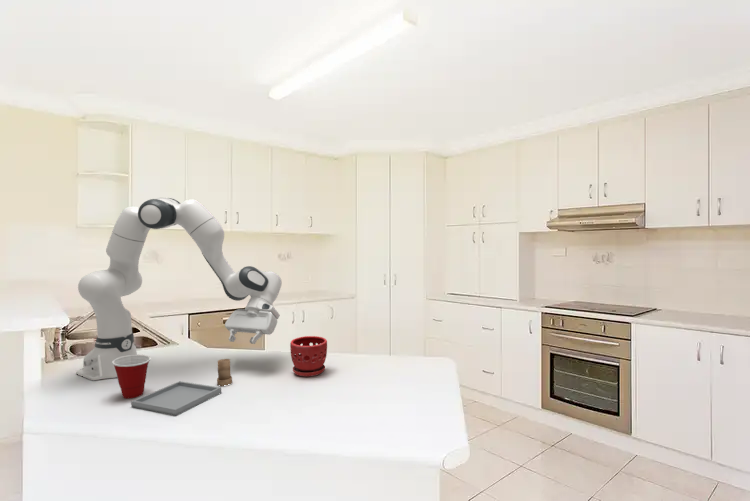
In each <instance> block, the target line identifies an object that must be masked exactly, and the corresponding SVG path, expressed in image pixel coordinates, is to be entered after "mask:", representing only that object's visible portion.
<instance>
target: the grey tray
mask: <svg viewBox="0 0 750 501" xmlns="http://www.w3.org/2000/svg"><path fill="white" fill-rule="evenodd" d="M219 393H220V394H222V386H214V385H207V384H200V383H194V382H188V381H183V380H182V381H181V380H180V381H176V382H174V383H172V384H169V385H167V386H164V387H162V388H160V389H157V390H155V391H152V392H150V393H148V394H145V395H142V396H139V397H137V398H135V399H134V400H131V402H130V403H131V407H130V408H133V409H134V408H135V409H137V410H144V411H147V412H154V413H159V414H164V415H168V416H173V417H177V416H179V415H181V414H183V413H185V412H186V411H189V410H190V409H193V408H195V407H196V406H199V405H201V404H202V403H205V402H206V400H207V401H208V399H209V400H210V398H211V399H212V397H213V398H215V397H216V396H218V395H220V394H219ZM204 401H205V402H204Z"/></svg>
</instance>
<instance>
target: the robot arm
mask: <svg viewBox="0 0 750 501" xmlns="http://www.w3.org/2000/svg"><path fill="white" fill-rule="evenodd" d="M176 225H178V226H181V227H182V228H183V229H184V230H185V231H186V233H187V234H188V235H189V236H190V238H192V240H193V241H194V242H195V244H196V246H197V247H198V249H199V250H200V252H201V254H202V255H203V257H204V260H205V261H206V262H207V263H208V265H209V267H210V268H211V269H212V271H213V272H214V274H215V275H216V276H217V278H218V279H219V281H220V283H221V285H222V288H223V290H224V293H225V295H226V297H228V298H229V299H230V300H233V301H236V302H237V301H239V302H240V301H243V300H245V299H246V298H247V297H249V296H250V298H249V300H248V302H247V304H246V306H245V308H237V309H236V310H234V311H233V312H232V313H230V316H229V317H228V318H227V319H226V321H225V323H224V328H225V329H226V330H228V331H229V334H230V335H229V336H228V341H229V342H233V343H234V342H235V341H236V339H237V338H236V336H235V335H236V334H237V333H246V334H255V335H254V336H251V337H250V339H249V343H250V344H253V345H255V344H256V343H257V341H259V339H260V338H261V337H263V335H268V336H271V334H273V333H274V332H275V329H276V327H277V324H278V320H279V319H280V313H279V311H277V309H276V308H275V307H274V306H273V304H274V302H275V301H276V300H277V298H278V295H279V293H280V291H281V288H282V279H281V277H280V275H279V274H277V273H276V272H274V271H272V270H267V271H263V270H260V269H258V268H257V267H254V266H252V265H251V266H249V265H248V266H244V267H243V268H241V269H240V270H238V271H237V272H235V270H234V269H233V268H232V266H231V265H230V264H229V262H228V261H227V259H226V257H225V256H224V254H223V243H224V239H225V230H224V229H223V227H222V225H221V223H220V222H219V221H218V219H217V218H216V217H215V216H214V215H213V214H212V213H211V212H210V210H209V209H207V207H205V205H203V204H202V203H201V202H200V201H198V200H196V199H195V198H194V199H193V198H189V199H186V200H183V201H182V202H180V201H178V200H176V199H175V198H173V197H171V198H170V197H157V198H152V199H151V198H150V199H147V200H146V201H144V202H143V203H141V204H140V206H135V205H134V206H133V205H132V206H127V207H125V208H124V209H122V211H121V213H120V214H119V216H118V218H117V220H116V221H115V224H114V226H113V229H112V232H111V234H110V237H109V241H108V243H107V246H106V249H105V252H106V255H107V256H108V257H109V267H108V268H107V269H103V270H95V271H93V272H90V273H87V274H85V275H84V276H82V277H81V278H80V280H79V281H78V285H77V286H78V287H77V288H78V290H77V291H78V293H79V295H80V296H81V298H82V299H84V301H87V302H88V303H89V305H90V307H91V308H92V310H93V313H94V316H95V321H96V331H97V337H94V338H93V342H95V344H94V347H93V349H91V351H89V352H88V353H87V354H86V355H85V356H84V358H83V361H82V365H83V367H82V368H79V369H78V370H75V371H76V372H75V375H77V374H78V376H81V377H82V376H83V378H85V379H88V380H90V381H99V380H104V379H112V378H113V379H114V378H118V377H117V373H116V370H115V367H114V365H113V363H112V362H113V360H115V359H116V358H119V357H123V356H128V355H138V352H137V347H136V345H135V344H134V342H135V335H134V332H133V328H132V327H133V325H132V315H131V312H130V310H128V309H127V308H125V306H124V304H123V301H122V298H123V297H126V296H129V295H131V294H133V293H135V292H136V291H138V290H139V289H140V288H141V287H142V284H143V277H142V275H141V273H140V271H139V261H140V257H141V254H142V251H143V248H144V245H145V242H146V239H147V237H148V233H149V231H150V230H151V229H153V230H159V229H166V228H170V227H172V226H176Z"/></svg>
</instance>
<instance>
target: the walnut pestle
mask: <svg viewBox="0 0 750 501" xmlns="http://www.w3.org/2000/svg"><path fill="white" fill-rule="evenodd" d="M231 374H232V373H231V359H229V358H222V359H218V360H217V376H218V377H217V379H216V384H217V386H218V385H220V386H219V387H225V386H224V385H228V384H231V383H232V384H233V377H232V375H231ZM232 384H231V385H232ZM228 386H229V385H228Z"/></svg>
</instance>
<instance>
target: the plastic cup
mask: <svg viewBox="0 0 750 501" xmlns="http://www.w3.org/2000/svg"><path fill="white" fill-rule="evenodd" d="M151 358H152V357H151V356H149V355H145V354H137V355H128V356H123V357H119V358H116V359H115V360H113V362H112V363H113V365H114V367H115V370H116V373H117V377H116V378H117V381H118V384H119V388H120V391H121V395H122V398H124V399H136V398H140V397H142V396H143V395H144V392H145V384H146V380H147V372H148V367H149V363H150V361H151Z"/></svg>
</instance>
